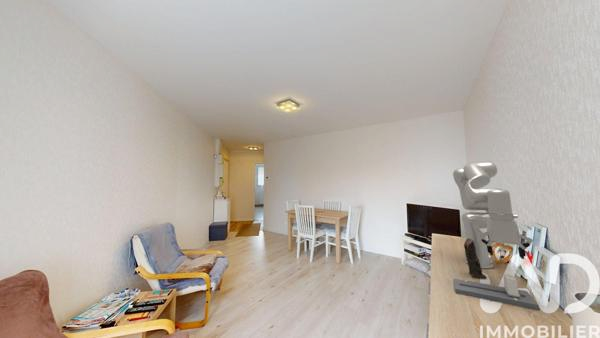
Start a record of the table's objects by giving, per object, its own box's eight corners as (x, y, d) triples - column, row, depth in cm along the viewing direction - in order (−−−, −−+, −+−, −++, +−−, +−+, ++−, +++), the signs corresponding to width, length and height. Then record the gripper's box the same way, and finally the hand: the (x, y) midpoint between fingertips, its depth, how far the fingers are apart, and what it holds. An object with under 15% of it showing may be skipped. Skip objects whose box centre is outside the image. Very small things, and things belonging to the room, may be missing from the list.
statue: (487, 279, 103) (482, 240, 105) (472, 278, 105) (467, 239, 107) (478, 273, 110) (473, 236, 112) (464, 273, 111) (459, 236, 113)
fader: (508, 295, 84) (506, 279, 84) (503, 288, 90) (501, 273, 90) (520, 297, 82) (518, 281, 82) (515, 290, 88) (512, 274, 88)
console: (455, 293, 92) (455, 288, 92) (453, 282, 102) (453, 277, 102) (539, 310, 77) (538, 304, 77) (527, 295, 87) (527, 290, 87)
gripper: (525, 216, 87) (531, 256, 86) (474, 215, 97) (478, 250, 96) (532, 219, 81) (538, 262, 80) (476, 217, 91) (481, 255, 89)
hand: (506, 256), depth 88 cm, fingers open, 9 cm apart
